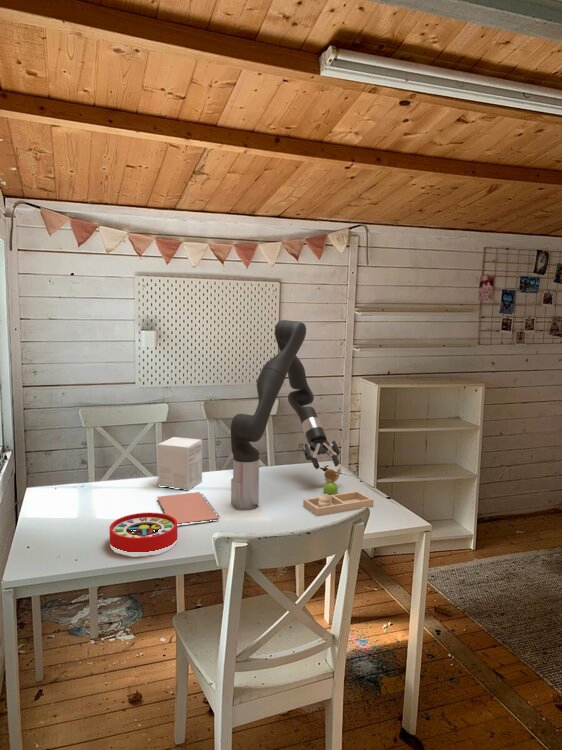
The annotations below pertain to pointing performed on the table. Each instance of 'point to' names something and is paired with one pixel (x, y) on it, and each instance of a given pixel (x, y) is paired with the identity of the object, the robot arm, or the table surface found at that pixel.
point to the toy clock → (143, 532)
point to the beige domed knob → (325, 500)
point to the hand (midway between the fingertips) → (327, 466)
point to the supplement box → (180, 463)
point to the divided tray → (339, 503)
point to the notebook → (188, 507)
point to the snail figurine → (331, 481)
